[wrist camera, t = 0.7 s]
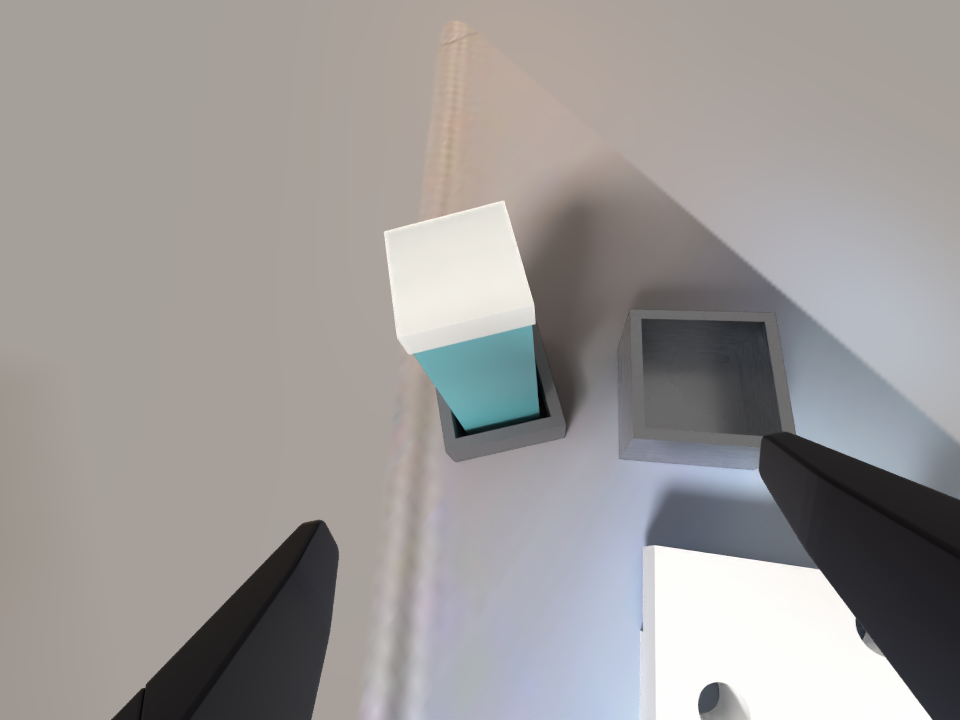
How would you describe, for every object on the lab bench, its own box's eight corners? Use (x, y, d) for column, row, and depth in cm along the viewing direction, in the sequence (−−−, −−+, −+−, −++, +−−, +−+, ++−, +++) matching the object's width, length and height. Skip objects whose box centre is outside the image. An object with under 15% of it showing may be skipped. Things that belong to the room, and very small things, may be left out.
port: (753, 469, 22) (798, 450, 18) (619, 459, 23) (633, 438, 19) (738, 352, 25) (774, 312, 21) (617, 348, 26) (630, 309, 22)
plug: (542, 424, 25) (534, 304, 13) (469, 441, 25) (397, 337, 13) (525, 358, 26) (504, 200, 15) (457, 374, 27) (383, 231, 15)
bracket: (950, 593, 19) (1169, 612, 12) (1001, 803, 17) (1317, 977, 10) (639, 547, 22) (679, 541, 15) (638, 723, 19) (687, 815, 12)
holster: (564, 437, 24) (566, 425, 22) (455, 462, 24) (445, 452, 22) (537, 340, 27) (535, 320, 25) (439, 363, 27) (428, 346, 25)
